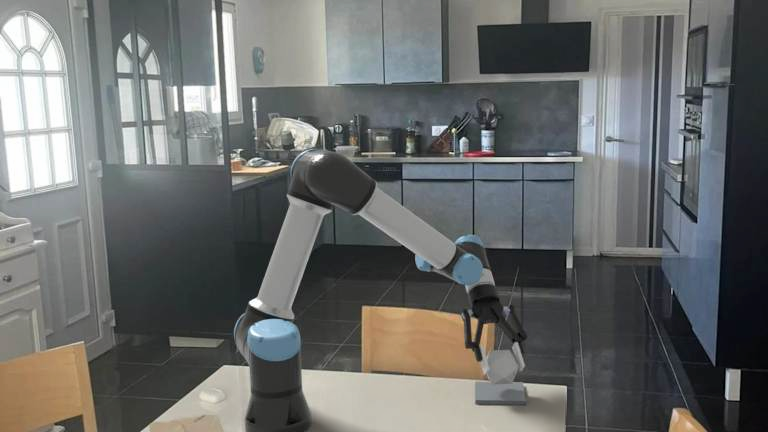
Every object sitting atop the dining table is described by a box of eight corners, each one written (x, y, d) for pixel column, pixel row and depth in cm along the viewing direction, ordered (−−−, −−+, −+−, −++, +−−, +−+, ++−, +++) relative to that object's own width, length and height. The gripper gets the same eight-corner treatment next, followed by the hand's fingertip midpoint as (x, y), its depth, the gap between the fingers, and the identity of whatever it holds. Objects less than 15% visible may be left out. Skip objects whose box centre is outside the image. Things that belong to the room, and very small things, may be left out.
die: (510, 393, 187) (528, 358, 189) (478, 375, 188) (497, 340, 189) (504, 392, 195) (522, 358, 197) (473, 375, 196) (491, 341, 197)
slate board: (475, 403, 188) (475, 399, 188) (475, 385, 200) (475, 381, 200) (525, 404, 187) (525, 400, 186) (522, 385, 198) (522, 382, 198)
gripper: (445, 285, 196) (466, 368, 184) (523, 279, 201) (549, 359, 188) (439, 300, 202) (459, 381, 190) (516, 293, 207) (540, 372, 194)
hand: (504, 370), depth 189 cm, fingers closed on die, 8 cm apart
